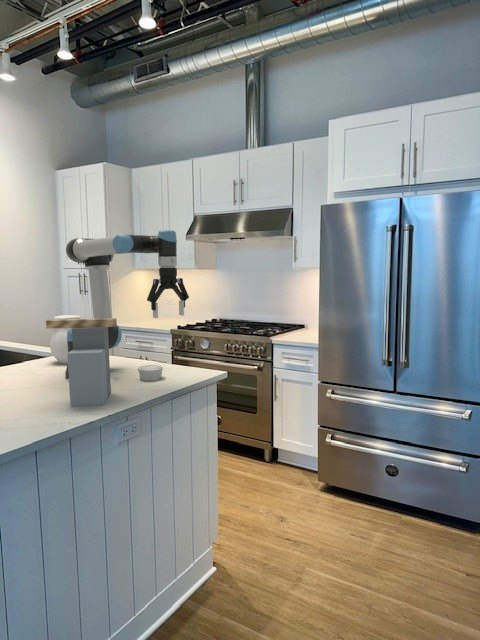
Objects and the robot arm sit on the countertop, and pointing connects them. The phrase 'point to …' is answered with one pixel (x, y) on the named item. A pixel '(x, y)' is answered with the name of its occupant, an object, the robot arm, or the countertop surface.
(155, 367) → the ramekin
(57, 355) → the pitcher
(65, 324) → the oak bar
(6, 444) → the countertop surface
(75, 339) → the stand
